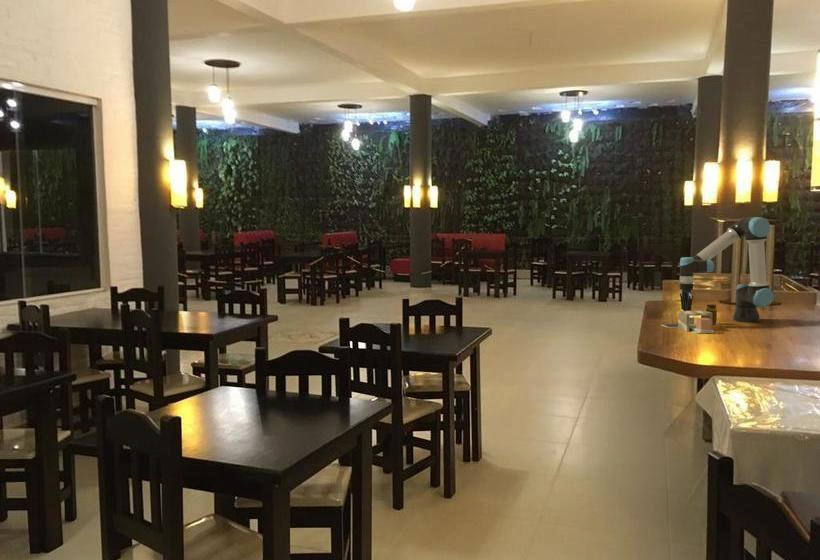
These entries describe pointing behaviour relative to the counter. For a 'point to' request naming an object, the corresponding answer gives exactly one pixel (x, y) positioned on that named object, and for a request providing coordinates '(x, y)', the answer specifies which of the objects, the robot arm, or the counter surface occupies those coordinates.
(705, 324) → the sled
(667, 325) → the pad
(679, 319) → the tunnel
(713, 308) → the condiment
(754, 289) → the robot arm
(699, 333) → the mat
